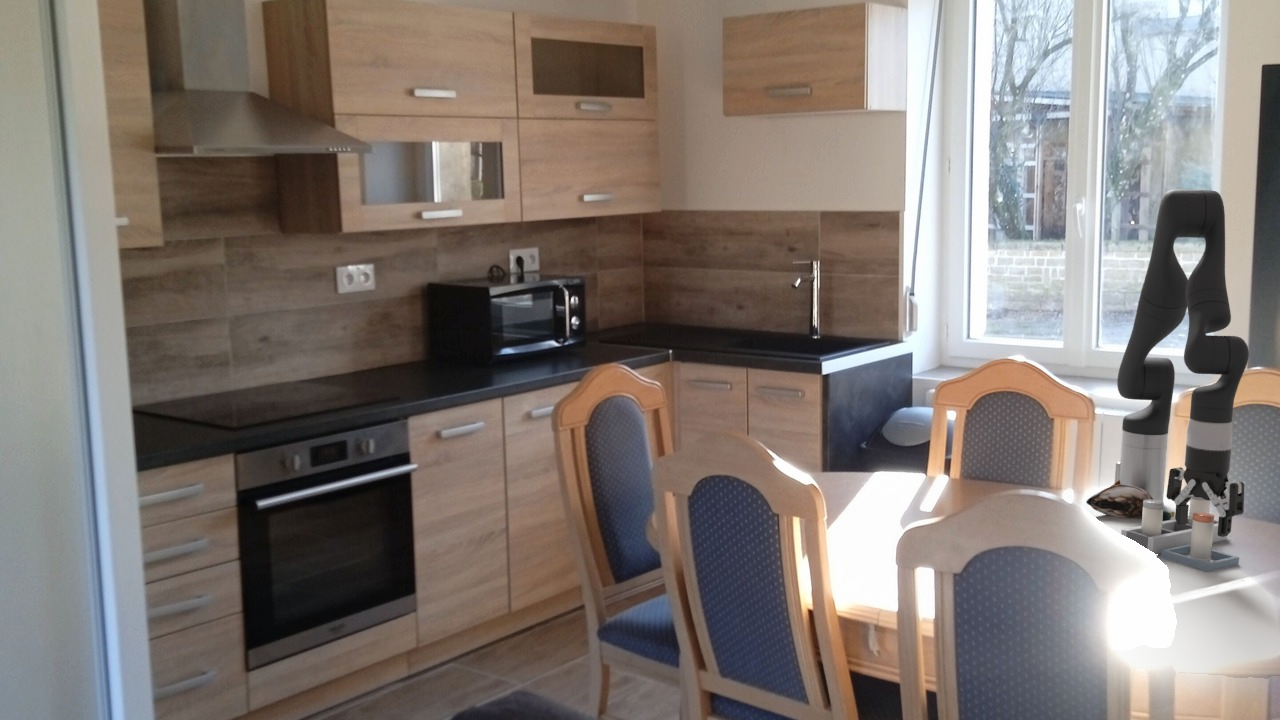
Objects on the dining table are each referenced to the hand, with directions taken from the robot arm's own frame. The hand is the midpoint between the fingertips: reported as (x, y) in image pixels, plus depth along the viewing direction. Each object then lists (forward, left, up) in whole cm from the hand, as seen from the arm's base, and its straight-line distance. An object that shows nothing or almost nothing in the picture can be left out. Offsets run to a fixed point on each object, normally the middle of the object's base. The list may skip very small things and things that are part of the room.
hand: (1201, 530), depth 229 cm
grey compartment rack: (-10, +6, -7) cm, 14 cm away
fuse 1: (-10, -1, -6) cm, 12 cm away
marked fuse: (0, 0, -6) cm, 6 cm away
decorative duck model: (-26, +13, -7) cm, 30 cm away
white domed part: (-10, +13, -6) cm, 17 cm away
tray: (0, 0, -7) cm, 7 cm away
